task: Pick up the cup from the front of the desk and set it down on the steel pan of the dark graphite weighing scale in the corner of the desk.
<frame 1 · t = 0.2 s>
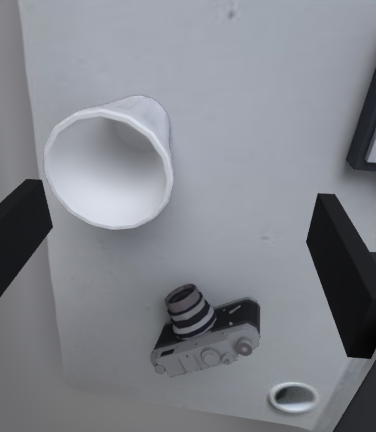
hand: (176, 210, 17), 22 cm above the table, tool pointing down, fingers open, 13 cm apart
cup: (141, 124, 37), on the table
camera: (199, 299, 50), on the table
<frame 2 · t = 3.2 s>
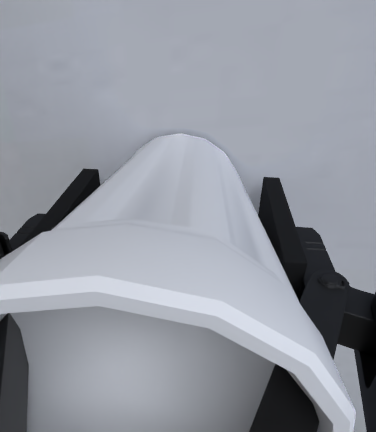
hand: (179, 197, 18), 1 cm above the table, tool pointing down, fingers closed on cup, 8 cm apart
cup: (182, 184, 19), on the table, touching gripper
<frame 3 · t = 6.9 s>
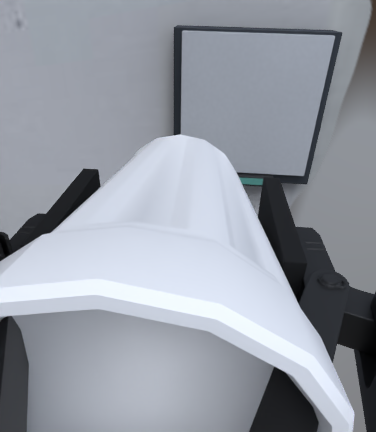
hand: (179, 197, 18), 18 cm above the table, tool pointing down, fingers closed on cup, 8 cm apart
scale: (245, 106, 32), on the table
cup: (181, 185, 19), point 16 cm above the table, touching gripper
when the fingers open (4 cm above the table, at t = 10.7 s): cup stays where it is, resting on scale.
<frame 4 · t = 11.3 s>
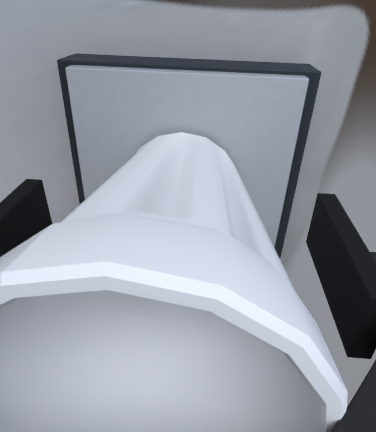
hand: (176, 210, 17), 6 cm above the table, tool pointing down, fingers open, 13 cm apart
scale: (186, 167, 22), on the table
cup: (183, 182, 19), point 3 cm above the table, touching scale
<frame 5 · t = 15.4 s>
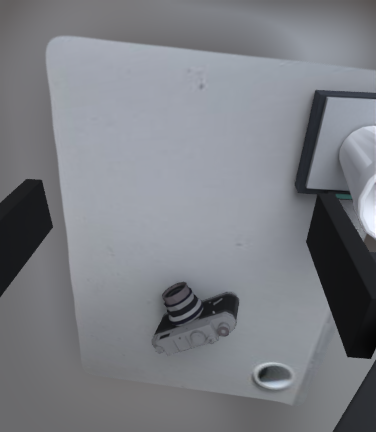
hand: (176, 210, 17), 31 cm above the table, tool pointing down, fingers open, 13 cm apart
scale: (354, 143, 45), on the table
cup: (364, 149, 42), point 3 cm above the table, touching scale
camera: (190, 294, 62), on the table
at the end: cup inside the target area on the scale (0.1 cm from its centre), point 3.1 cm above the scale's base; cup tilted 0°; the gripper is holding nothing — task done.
